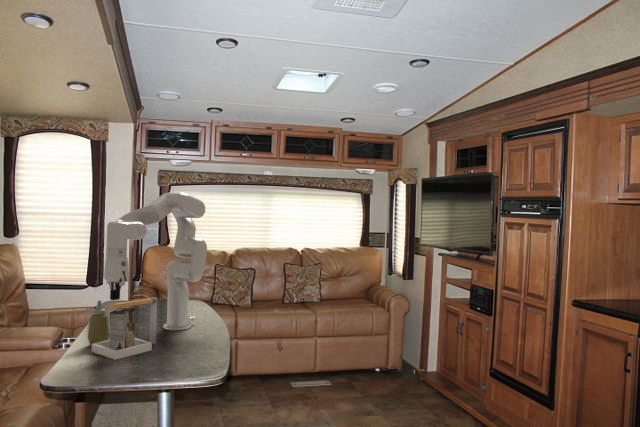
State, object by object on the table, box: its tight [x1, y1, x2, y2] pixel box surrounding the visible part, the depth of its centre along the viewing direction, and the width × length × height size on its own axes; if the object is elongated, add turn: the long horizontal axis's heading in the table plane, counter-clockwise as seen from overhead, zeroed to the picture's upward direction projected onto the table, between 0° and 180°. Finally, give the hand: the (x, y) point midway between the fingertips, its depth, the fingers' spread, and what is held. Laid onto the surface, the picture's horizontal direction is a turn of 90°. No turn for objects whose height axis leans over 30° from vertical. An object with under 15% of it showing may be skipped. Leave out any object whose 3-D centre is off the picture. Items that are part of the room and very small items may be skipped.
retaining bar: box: [109, 296, 159, 310], centre depth 195 cm, size 21×3×2 cm, turn 145°
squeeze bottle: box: [87, 300, 110, 347], centre depth 198 cm, size 8×8×18 cm
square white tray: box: [91, 302, 158, 361], centre depth 194 cm, size 23×16×17 cm
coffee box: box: [108, 307, 136, 351], centre depth 191 cm, size 9×6×16 cm
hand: (114, 299), depth 194 cm, fingers closed
